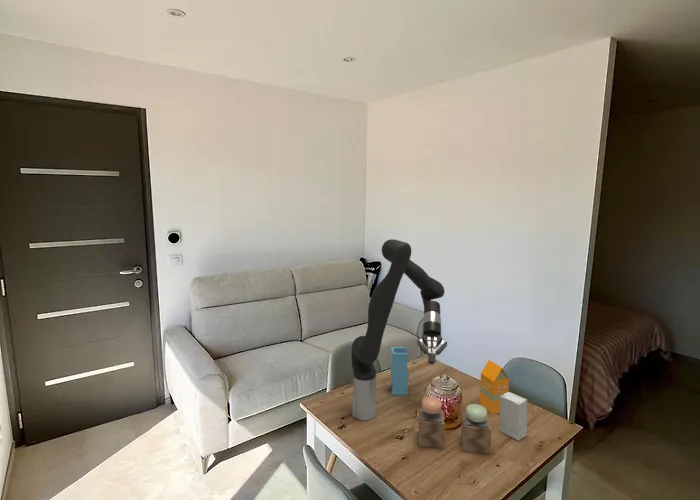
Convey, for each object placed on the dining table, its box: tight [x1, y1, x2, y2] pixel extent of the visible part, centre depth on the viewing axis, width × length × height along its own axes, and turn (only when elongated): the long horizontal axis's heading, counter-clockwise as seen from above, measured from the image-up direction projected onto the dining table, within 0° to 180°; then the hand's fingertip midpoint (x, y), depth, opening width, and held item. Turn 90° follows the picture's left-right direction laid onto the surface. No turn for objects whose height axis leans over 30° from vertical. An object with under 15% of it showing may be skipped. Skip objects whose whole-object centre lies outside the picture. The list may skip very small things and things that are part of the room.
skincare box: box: [499, 391, 528, 441], centre depth 147 cm, size 8×6×15 cm
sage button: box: [465, 403, 488, 422], centre depth 139 cm, size 7×7×3 cm
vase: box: [389, 346, 410, 396], centre depth 179 cm, size 8×8×20 cm
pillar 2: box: [460, 412, 492, 455], centre depth 140 cm, size 9×9×10 cm
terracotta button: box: [421, 395, 442, 414], centre depth 142 cm, size 7×7×3 cm
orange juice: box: [479, 359, 510, 415], centre depth 164 cm, size 8×9×20 cm
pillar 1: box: [417, 408, 445, 450], centre depth 143 cm, size 9×9×10 cm
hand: (431, 363), depth 153 cm, fingers closed
